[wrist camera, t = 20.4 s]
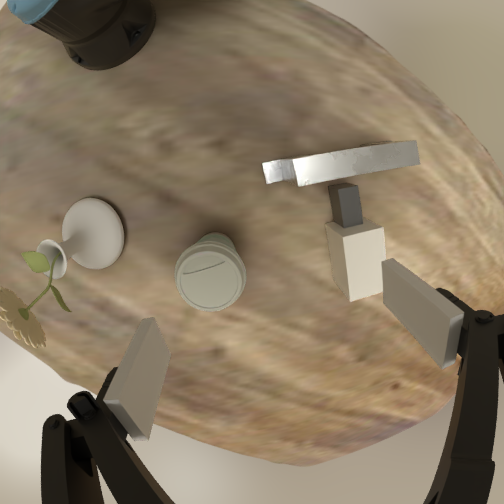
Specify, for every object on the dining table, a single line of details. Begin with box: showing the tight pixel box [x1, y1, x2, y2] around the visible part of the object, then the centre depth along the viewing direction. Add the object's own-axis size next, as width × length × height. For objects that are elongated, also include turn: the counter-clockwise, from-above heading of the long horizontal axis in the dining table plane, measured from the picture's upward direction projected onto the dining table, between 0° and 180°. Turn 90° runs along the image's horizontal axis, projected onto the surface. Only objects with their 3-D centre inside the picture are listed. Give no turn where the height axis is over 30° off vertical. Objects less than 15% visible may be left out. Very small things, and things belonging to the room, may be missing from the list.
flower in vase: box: [0, 198, 124, 348], centre depth 31 cm, size 13×11×25 cm
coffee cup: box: [175, 232, 246, 312], centre depth 39 cm, size 8×8×12 cm
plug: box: [325, 183, 386, 302], centre depth 41 cm, size 16×6×8 cm, turn 13°
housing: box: [262, 140, 420, 187], centre depth 36 cm, size 3×21×11 cm, turn 103°
